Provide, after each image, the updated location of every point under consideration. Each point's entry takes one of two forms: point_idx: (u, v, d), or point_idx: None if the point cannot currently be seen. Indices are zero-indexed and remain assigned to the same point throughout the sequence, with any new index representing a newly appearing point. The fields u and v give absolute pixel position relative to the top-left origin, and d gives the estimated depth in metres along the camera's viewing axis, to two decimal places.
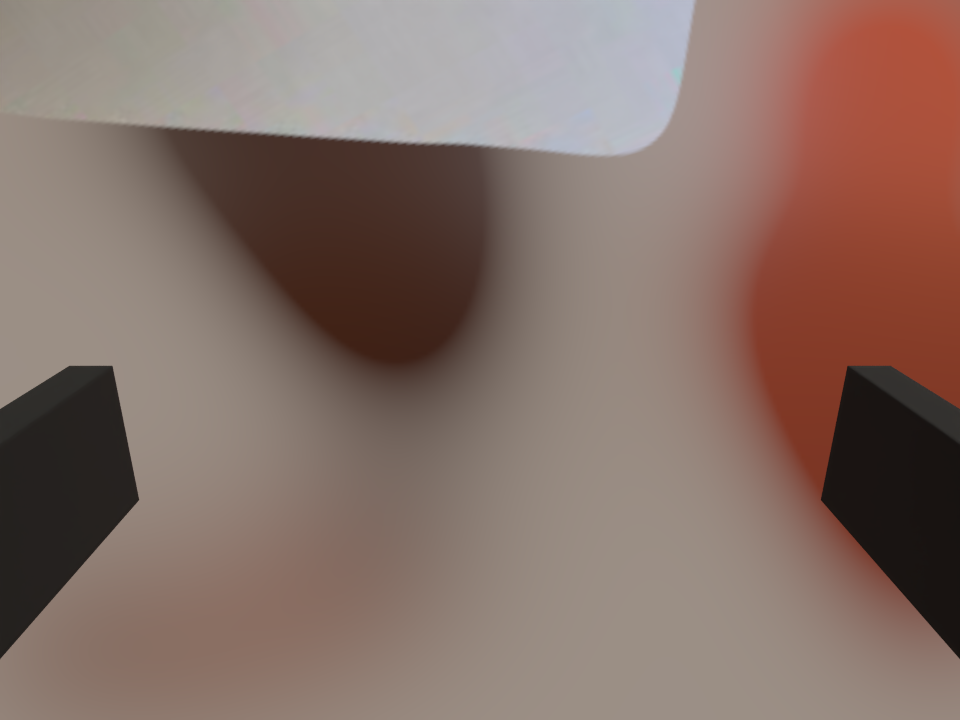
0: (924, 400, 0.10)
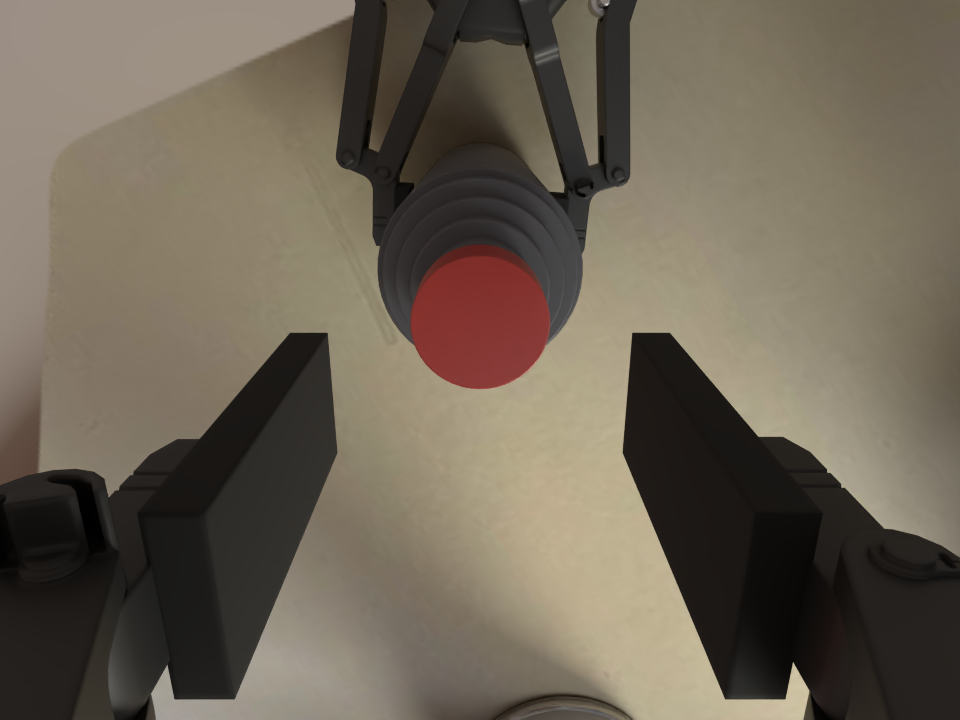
0: (673, 358, 0.12)
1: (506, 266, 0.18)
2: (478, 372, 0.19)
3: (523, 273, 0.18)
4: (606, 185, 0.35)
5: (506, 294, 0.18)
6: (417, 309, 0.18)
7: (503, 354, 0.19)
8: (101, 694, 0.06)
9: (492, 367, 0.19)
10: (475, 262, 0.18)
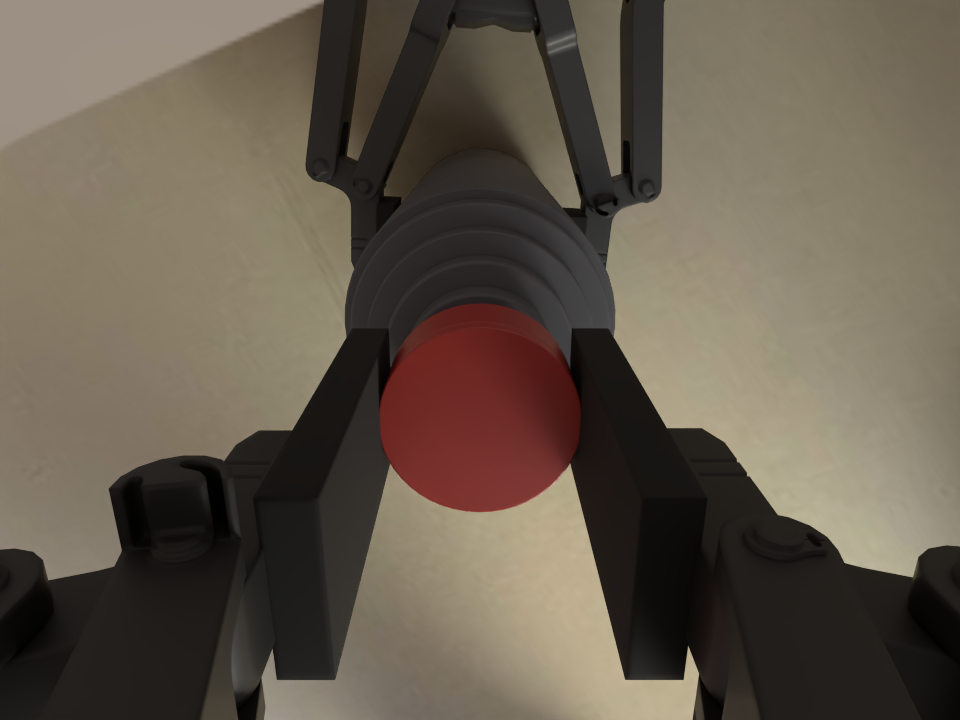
0: (605, 353, 0.13)
1: (519, 342, 0.12)
2: (477, 490, 0.13)
3: (544, 352, 0.12)
4: (632, 201, 0.29)
5: (519, 382, 0.12)
6: (388, 403, 0.13)
7: (514, 465, 0.13)
8: (225, 677, 0.06)
9: (497, 483, 0.13)
10: (473, 336, 0.12)
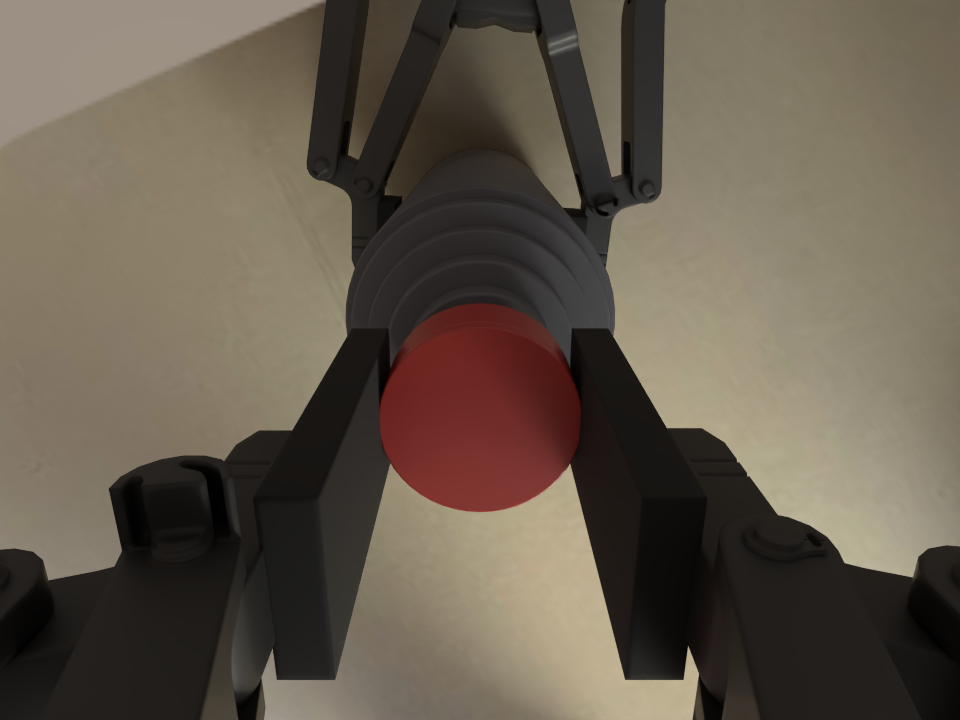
0: (605, 352, 0.13)
1: (391, 391, 0.13)
2: (555, 426, 0.13)
3: (401, 367, 0.12)
4: (632, 201, 0.29)
5: (433, 390, 0.13)
6: (458, 504, 0.13)
7: (526, 392, 0.13)
8: (226, 677, 0.06)
9: (547, 407, 0.13)
10: (388, 431, 0.13)
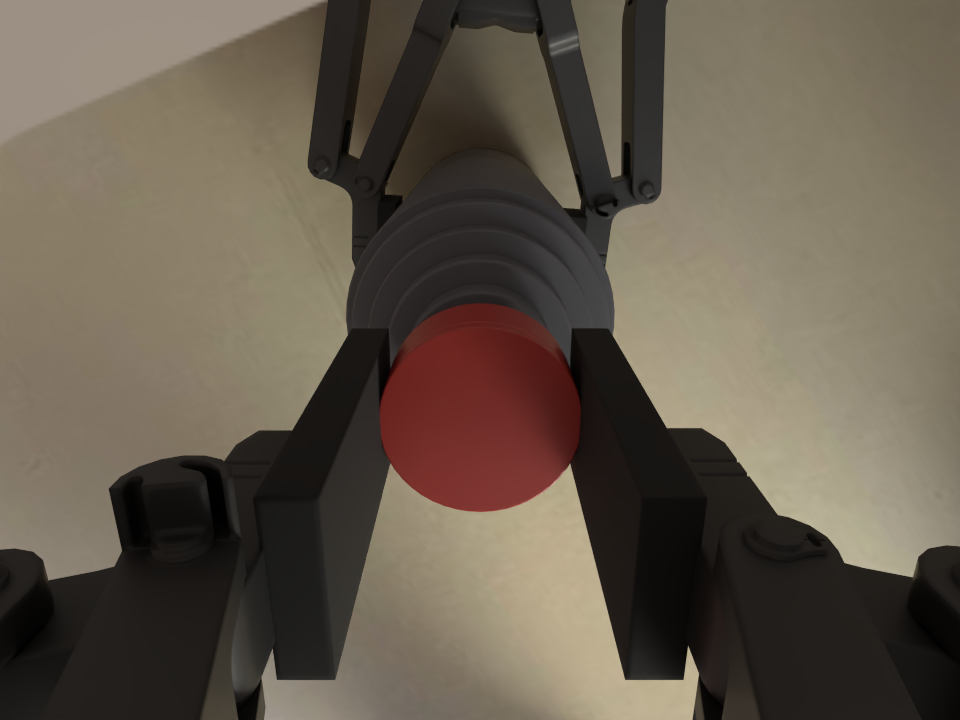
0: (605, 352, 0.13)
1: (446, 500, 0.13)
2: (481, 354, 0.12)
3: (422, 491, 0.13)
4: (631, 202, 0.29)
5: (444, 465, 0.13)
6: (570, 444, 0.13)
7: (443, 382, 0.12)
8: (226, 677, 0.06)
9: (459, 362, 0.12)
10: (488, 504, 0.13)
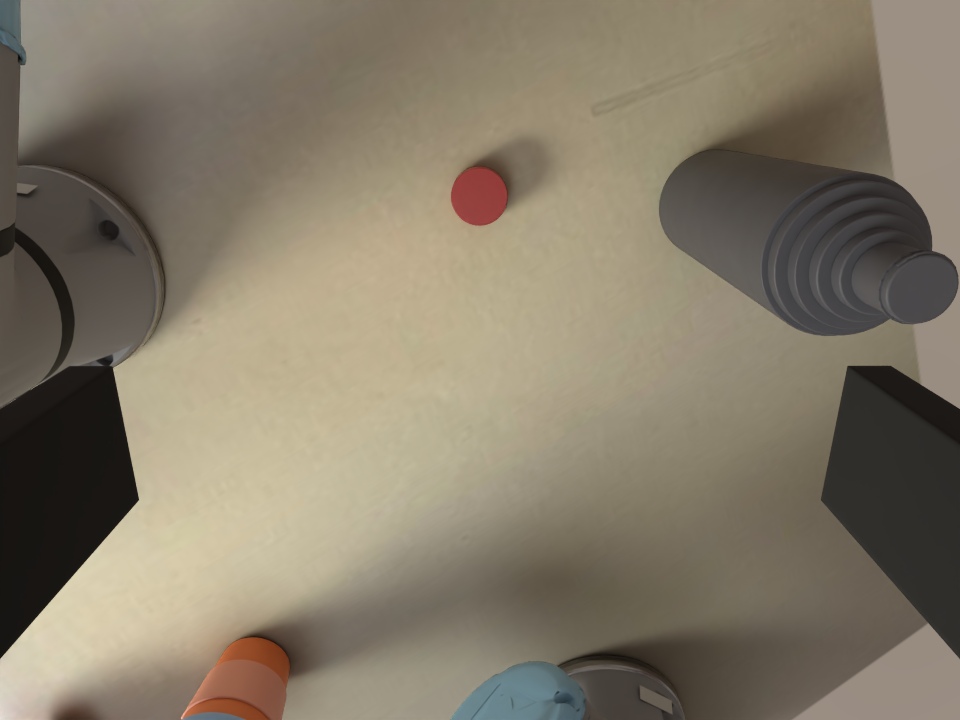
0: (924, 400, 0.10)
1: (488, 172, 0.46)
2: (479, 218, 0.47)
3: (495, 174, 0.46)
4: None
5: (489, 183, 0.46)
6: (453, 191, 0.46)
7: (489, 209, 0.47)
8: None
9: (485, 215, 0.47)
10: (476, 170, 0.46)
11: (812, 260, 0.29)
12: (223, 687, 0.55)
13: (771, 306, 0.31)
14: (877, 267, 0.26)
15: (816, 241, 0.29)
